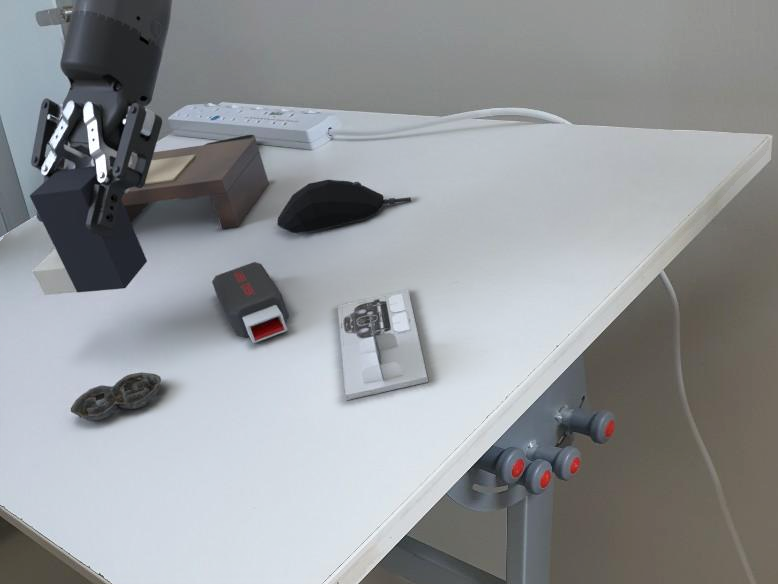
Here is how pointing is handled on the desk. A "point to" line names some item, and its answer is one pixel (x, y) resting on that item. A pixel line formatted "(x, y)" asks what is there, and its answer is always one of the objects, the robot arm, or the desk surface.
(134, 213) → the brown coffee table
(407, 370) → the car print tile
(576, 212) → the desk surface
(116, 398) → the corroded twin loop
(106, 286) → the charcoal rectangular prism
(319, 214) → the gaming mouse
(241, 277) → the usb drive
